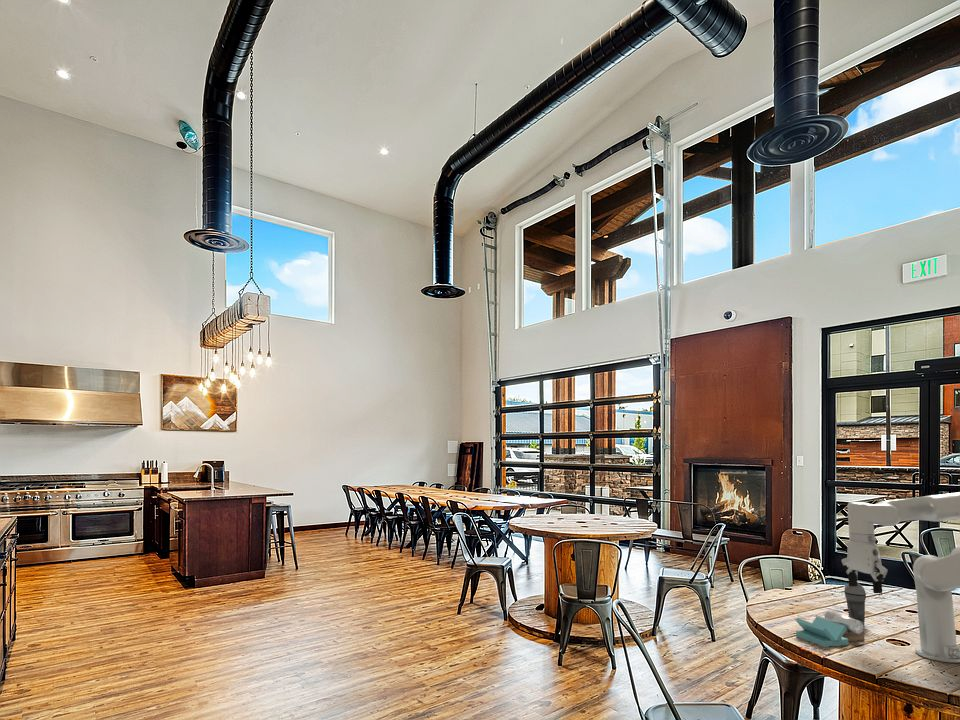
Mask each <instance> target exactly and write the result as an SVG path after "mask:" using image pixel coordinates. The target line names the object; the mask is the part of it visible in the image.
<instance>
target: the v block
mask: <svg viewBox="0 0 960 720" xmlns="http://www.w3.org/2000/svg"><path fill="white" fill-rule="evenodd" d="M795 622H796V623H797V624H798V625H799V626H800V627H801V628H802V629H799V630H795V636H796V637H797V638H799V639H801V638H802V640H804V641H806V640H807V641H806V642H809V641H810V642H809V643H811V642H813V643H812V644H814V643H816V644H818V645H817V646H819V645H821V646H823V647H822V648H824V647H826V648H830V647H829V646H836V647H844V646H843V645H846V646H849V643H850V642H848V639H847V638H844V637H842V636H843V634H844V633H845V631H846V630H847V628H846V627H845V626H843V625H840V624H837V623H834V622H832V621H829V620H826V619H825V618H822V617H820V616H816V617H815V618H814V620H813V621H812V622H810V621H807V620H806V619H805V620H804V619H802V618H799V617H797V618H796V619H795ZM816 644H815V645H816ZM841 645H842V646H841ZM821 646H820V647H821Z"/></svg>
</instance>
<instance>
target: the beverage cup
mask: <svg viewBox="0 0 960 720" xmlns="http://www.w3.org/2000/svg"><path fill="white" fill-rule="evenodd" d="M855 574H857V577H859V576H858V575H859V571H856V573H855ZM843 594H844V597H845V599H846V604H847V605H846V606H847V612H848V617H850V618H853V619H856V620H859V621H861V622H862V624H863V627H865V618H866V617H865V616H866V615H865V614H866V599H867V598H866V597H867V594H866V590H865V588H864V586H862V584H860V583H859V582H857V586H849V582H848V583H847V584H846V585H845V587H844V591H843Z"/></svg>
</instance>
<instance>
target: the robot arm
mask: <svg viewBox="0 0 960 720" xmlns="http://www.w3.org/2000/svg"><path fill="white" fill-rule="evenodd" d="M847 520H848V521H847V523H848V536H849V537H848V538H849V540H848V542H847V550H846V551H847V553H846V555H847V557H845V558H842V559H841V564H842V566H843V569H844V570H845V573H846V574H847V577H848V580H847V581H848V583H849V586H857V583H858V576H857V574H856V571H858V573H863V574H868V575H870V576H871V577H872V579H873V580H872V592H873V594H883V582H884V580H885V579H886V577H887V575H888V572H889V571H888V568H886V567H885V566H883V565H882V558H881V553H880V548H879V546H878V544H877V543H876V541H877V537H876V536H875V535H876V534H875V525H879V526H882V527H893V526H896V525H898V524H899V523H900V522H907V521H927V522H928V521H929V522H947V521H955V520H960V491H958V492H951V493H948V492H947V493H942V494H931V495H925V496H919V497H907V498H900V499H891V500H883V501H879V502H876V503H875V504H873V503H869V502H866V501H865V502H864V501H850V502H848V503H847ZM912 572H913V579H914V584H915V593H916V594H915V595H916V606H917V616H918V617H917V618H918V629H919V630H918V631H919V639H920V641H919V642H920V645H919V646H916V647H915V649H914V650H915V651H914V652H915V653H916V654H917V655H919V656H921V657H923V658H925V659H929V660H933V661H937V662H943V663H950V664H951V663H952V664H953V663H954V664H956V663H957V664H958V663H960V645H958V644H957V642H958V641H957V632H956V631H957V630H956V623H955V622H956V621H955V614H954V613H955V611H954V610H955V609H954V601H953V599H954V598H953V593H952V590H956V589H959V588H960V546H956V547H954V548H953V549H952V550H951V552H950V554H949V555H945V556H942V557H938V556H936V555H932V554H925V555H921V556H918V558H916V559H915V561H914V563H913V567H912Z"/></svg>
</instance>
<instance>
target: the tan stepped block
mask: <svg viewBox="0 0 960 720" xmlns="http://www.w3.org/2000/svg"><path fill="white" fill-rule="evenodd" d="M842 637H844V638H847V639H848V643H850V642H858V641H857V640H860V641H865V631H864V630H863V631H862V632H861V633H860V634H857V633H854V632H851V631H848V629H847V630H846V631H845V633H844V634H843V636H842Z"/></svg>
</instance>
